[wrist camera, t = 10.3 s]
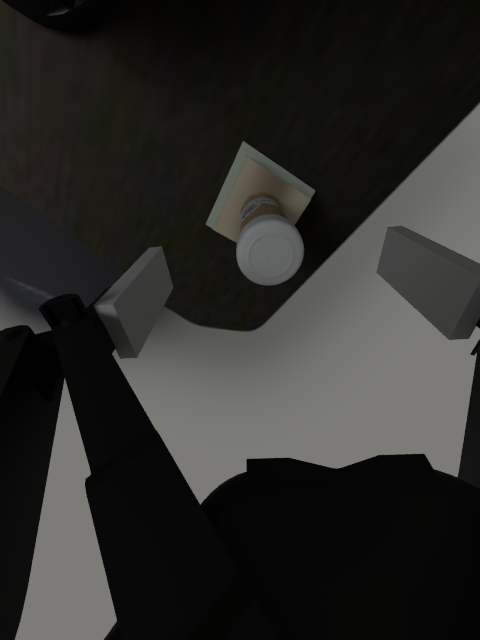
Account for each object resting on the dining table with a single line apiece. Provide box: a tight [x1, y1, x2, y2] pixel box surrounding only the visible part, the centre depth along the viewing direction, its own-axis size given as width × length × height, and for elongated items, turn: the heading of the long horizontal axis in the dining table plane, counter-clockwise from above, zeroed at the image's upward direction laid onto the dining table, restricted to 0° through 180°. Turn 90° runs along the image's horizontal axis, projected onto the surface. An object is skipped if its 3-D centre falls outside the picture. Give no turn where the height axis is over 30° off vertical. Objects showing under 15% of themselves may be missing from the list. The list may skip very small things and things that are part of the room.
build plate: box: [206, 141, 315, 228], centre depth 31 cm, size 10×10×1 cm
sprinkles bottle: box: [237, 192, 304, 285], centre depth 22 cm, size 5×5×14 cm
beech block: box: [213, 156, 311, 243], centre depth 29 cm, size 8×8×4 cm
